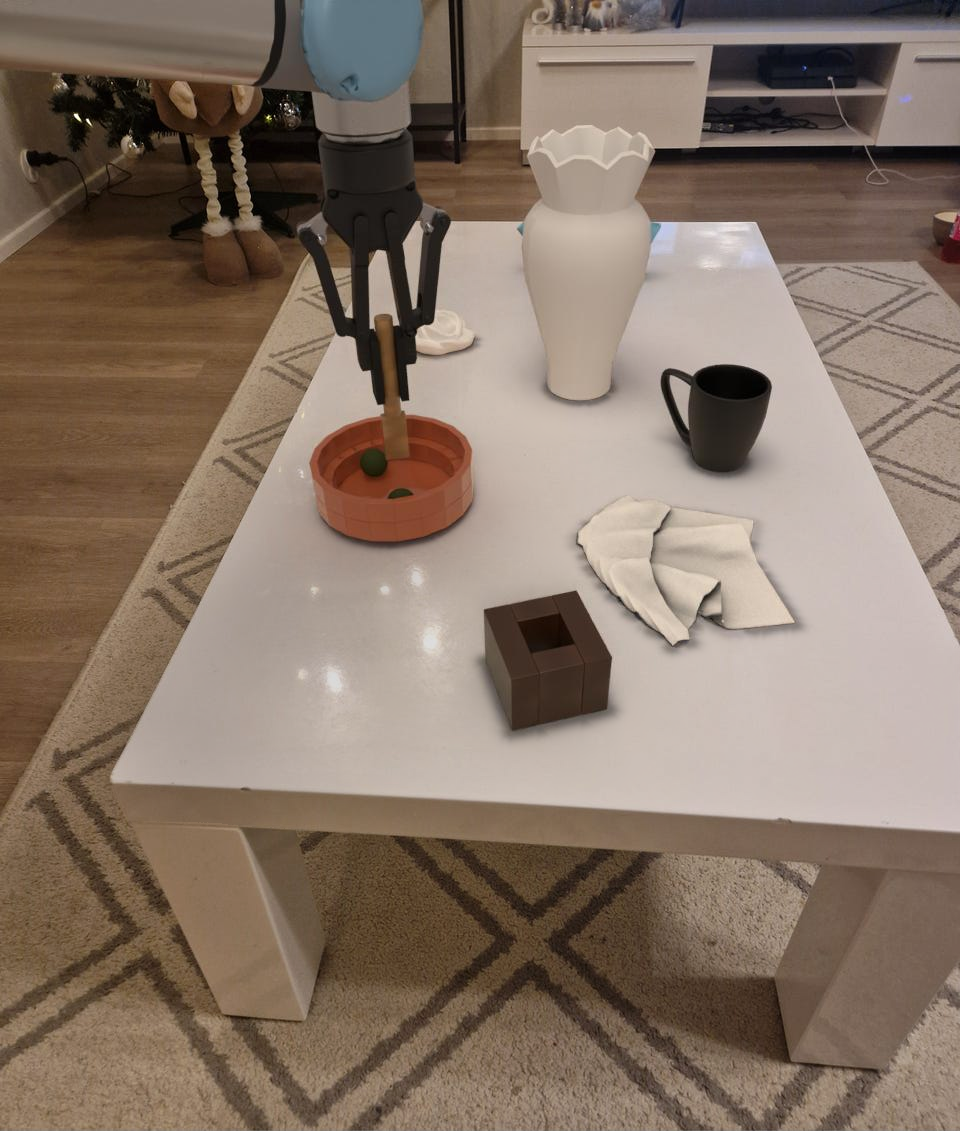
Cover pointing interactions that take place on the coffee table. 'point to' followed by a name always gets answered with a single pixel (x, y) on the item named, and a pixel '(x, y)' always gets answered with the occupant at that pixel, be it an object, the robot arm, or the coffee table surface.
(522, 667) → the holder
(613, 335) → the vase
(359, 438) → the bowl
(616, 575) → the cloth
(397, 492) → the olive
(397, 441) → the stick
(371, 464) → the ball
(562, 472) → the coffee table surface
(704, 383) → the mug
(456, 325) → the rose
